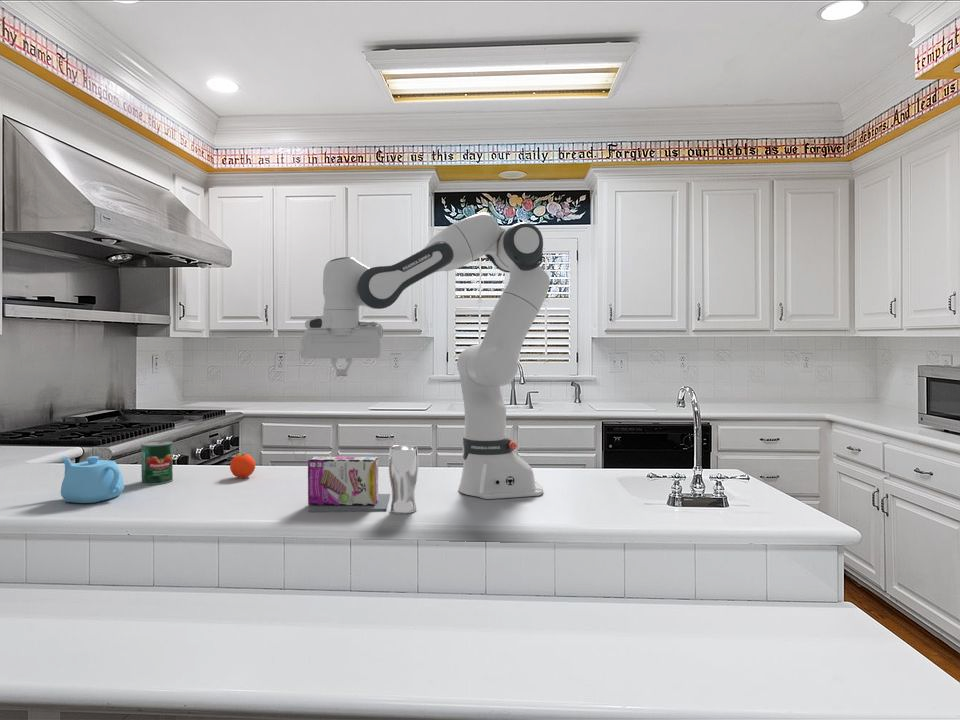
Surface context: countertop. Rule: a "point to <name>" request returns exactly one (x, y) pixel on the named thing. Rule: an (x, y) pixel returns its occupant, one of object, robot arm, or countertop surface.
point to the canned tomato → (156, 462)
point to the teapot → (91, 480)
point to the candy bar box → (343, 481)
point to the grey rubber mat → (354, 506)
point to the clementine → (242, 465)
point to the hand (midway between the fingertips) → (342, 376)
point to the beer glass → (403, 478)
